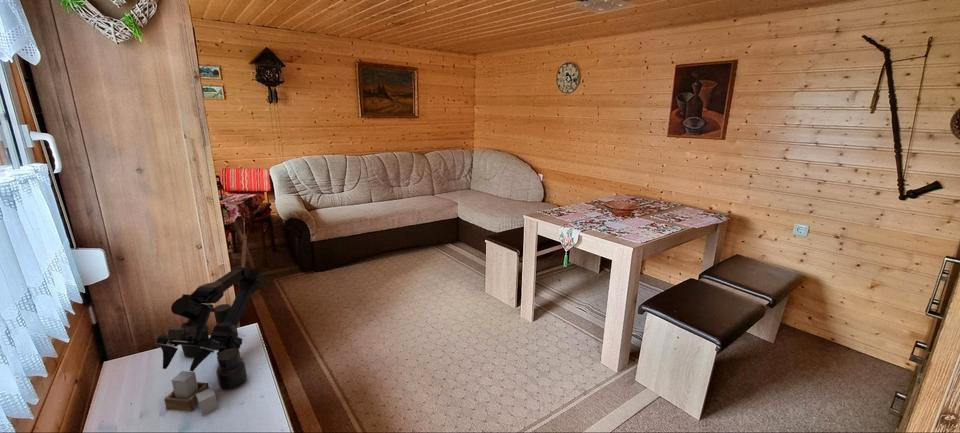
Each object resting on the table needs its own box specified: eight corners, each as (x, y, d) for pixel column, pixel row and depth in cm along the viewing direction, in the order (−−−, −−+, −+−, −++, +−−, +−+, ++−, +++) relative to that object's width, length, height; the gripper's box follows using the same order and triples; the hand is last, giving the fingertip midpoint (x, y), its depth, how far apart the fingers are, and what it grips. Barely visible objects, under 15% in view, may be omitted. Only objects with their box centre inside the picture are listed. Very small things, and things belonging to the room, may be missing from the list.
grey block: (214, 400, 138) (211, 387, 136) (218, 408, 135) (215, 394, 133) (198, 407, 134) (195, 394, 133) (202, 415, 131) (199, 401, 130)
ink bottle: (244, 370, 152) (239, 342, 149) (252, 382, 146) (247, 354, 143) (214, 382, 146) (209, 354, 142) (221, 395, 140) (215, 366, 136)
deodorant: (231, 333, 174) (226, 302, 170) (238, 338, 171) (233, 307, 166) (216, 339, 170) (210, 308, 165) (223, 345, 166) (217, 313, 162)
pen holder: (216, 348, 164) (212, 326, 161) (192, 361, 156) (187, 339, 153) (201, 341, 168) (197, 320, 165) (177, 354, 160) (172, 332, 157)
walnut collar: (186, 390, 142) (184, 380, 140) (209, 392, 141) (207, 383, 140) (166, 408, 133) (164, 399, 132) (191, 411, 133) (188, 401, 132)
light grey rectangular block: (187, 395, 139) (182, 371, 136) (200, 396, 139) (194, 372, 136) (177, 404, 135) (171, 380, 132) (190, 406, 135) (184, 381, 132)
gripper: (153, 314, 132) (131, 364, 125) (208, 318, 131) (188, 369, 124) (177, 322, 142) (157, 368, 135) (228, 325, 141) (210, 373, 134)
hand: (177, 370), depth 132 cm, fingers open, 9 cm apart
